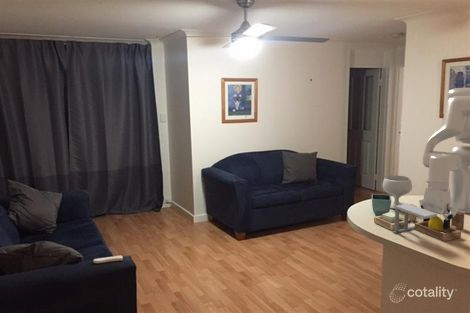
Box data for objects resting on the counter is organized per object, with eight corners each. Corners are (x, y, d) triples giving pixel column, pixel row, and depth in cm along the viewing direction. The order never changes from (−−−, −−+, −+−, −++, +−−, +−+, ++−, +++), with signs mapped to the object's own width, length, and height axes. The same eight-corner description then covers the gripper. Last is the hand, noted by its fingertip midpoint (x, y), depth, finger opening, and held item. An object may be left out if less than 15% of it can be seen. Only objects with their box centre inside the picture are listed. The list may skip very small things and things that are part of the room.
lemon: (438, 231, 163) (439, 213, 161) (445, 236, 157) (446, 217, 156) (425, 231, 163) (426, 213, 161) (432, 236, 157) (433, 218, 156)
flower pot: (391, 218, 180) (391, 200, 179) (371, 217, 183) (371, 199, 182) (390, 212, 189) (390, 194, 187) (371, 211, 191) (371, 193, 190)
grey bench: (430, 223, 171) (431, 198, 169) (461, 235, 158) (463, 207, 155) (392, 233, 163) (393, 206, 161) (421, 245, 150) (422, 216, 147)
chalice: (402, 201, 204) (403, 174, 201) (416, 209, 190) (418, 180, 188) (377, 203, 203) (377, 175, 200) (389, 211, 189) (390, 182, 187)
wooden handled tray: (444, 221, 172) (445, 207, 171) (476, 233, 159) (477, 217, 157) (414, 229, 166) (415, 213, 164) (444, 241, 152) (445, 224, 151)
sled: (403, 215, 182) (404, 201, 181) (422, 223, 172) (423, 208, 171) (374, 222, 176) (374, 207, 174) (391, 230, 166) (392, 215, 164)
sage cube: (389, 222, 176) (389, 212, 175) (398, 225, 171) (399, 214, 171) (382, 224, 173) (382, 214, 172) (391, 228, 169) (392, 217, 168)
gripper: (414, 181, 163) (412, 219, 166) (450, 191, 147) (447, 233, 150) (427, 179, 166) (425, 217, 169) (464, 188, 150) (461, 229, 153)
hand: (436, 224), depth 159 cm, fingers open, 9 cm apart
